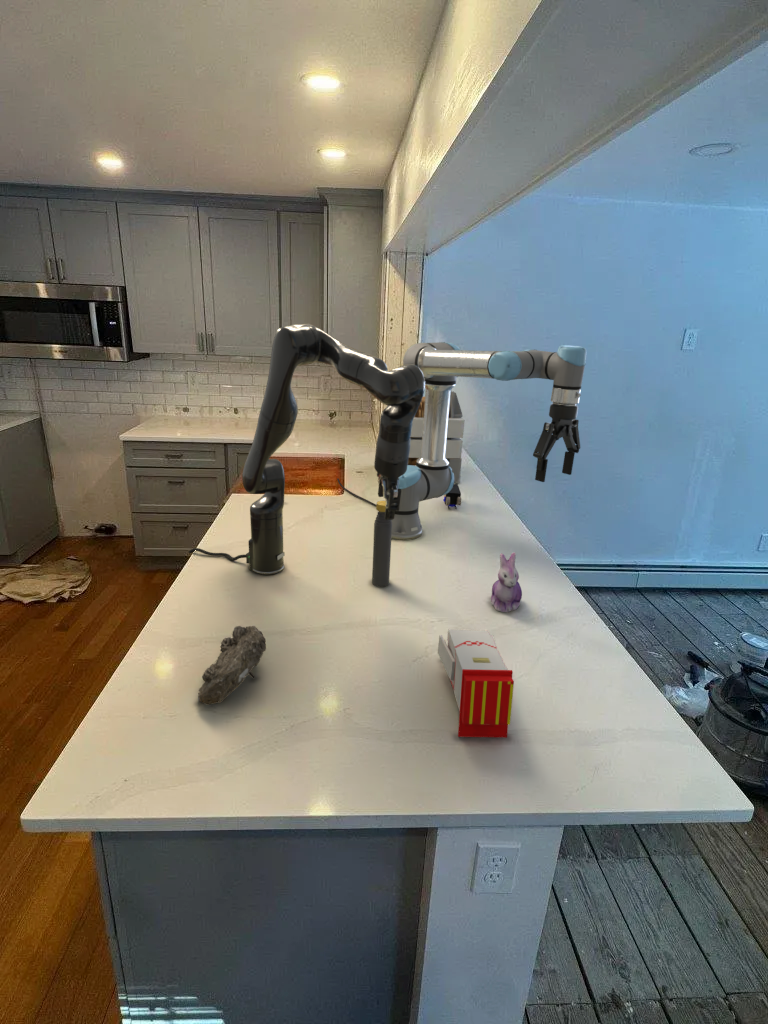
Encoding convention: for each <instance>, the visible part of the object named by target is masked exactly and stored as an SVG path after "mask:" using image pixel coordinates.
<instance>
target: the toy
mask: <svg viewBox="0 0 768 1024" xmlns="http://www.w3.org/2000/svg"><path fill="white" fill-rule="evenodd" d="M446 640H447V643H446V641H445V639H444V636H443V635H442V634H439V637H438V646H437V656H438V657H439V659H440V661H441V663H442V666H443V668H444V670H445V672H446V674H447V677H448V679H449V681H450V684H451V687H452V690H453V693H454V697H455V701H456V705H457V708H458V711H459V714H458V715H459V716H458V730H457V731H458V732H457V737H458V738H508V731H509V726H510V725H511V717H512V707H513V697H514V696H513V695H514V684H515V680H514V679H513V673H514V671H513V670H512V669H508V667H507V665H506V662H505V661H504V659H503V658H502V655H501V653H500V651H499V649H498V647H497V643H496V639H495V637H494V635H493V634H491V632H490V631H489V629H467V628H466V629H465V628H463V629H461V628H460V629H459V628H448V630H447V639H446Z"/></svg>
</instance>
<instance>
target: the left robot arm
mask: <svg viewBox="0 0 768 1024" xmlns="http://www.w3.org/2000/svg"><path fill="white" fill-rule="evenodd" d="M269 361H270V362H269V369H268V376H267V382H266V387H265V391H264V395H263V399H262V403H261V406H260V409H259V414H258V418H257V423H256V424H257V425H256V429H255V432H254V435H253V439H252V443H251V446H250V449H249V451H248V453H247V457H246V459H245V462H244V465H243V469H242V474H241V475H242V476H241V477H242V479H241V480H242V486H243V488H244V490H245V491H246V492H247V493H248V494H250V495H261V494H263V495H262V496H261V497H260V498H259V499H257V500H255V501H254V502H252V503H251V504H250V506H249V519H250V539H248V552H247V553H245V554H239V555H236V556H234V557H233V556H232V555H230V554H229V553H227V552H210V551H207V550H205V549H202V548H199V547H194V548H191V549H190V550H188V553H189V554H192V553H194V552H199V553H202V554H204V555H207V556H212V557H226V558H227V559H229V561H237V560H240V559H245V560H246V564H248V565H249V571H252V572H254V573H256V574H258V575H274V574H278V573H280V572H283V570H284V569H285V561H284V560H285V559H284V557H285V555H286V554H285V551H284V516H283V514H284V512H283V511H284V510H283V509H284V507H285V489H286V476H285V468H284V466H283V464H282V462H281V460H279V459H277V458H271V457H272V456H273V454H275V453H276V452H277V450H279V448H281V446H282V445H284V444H285V443H286V442H287V440H288V439H289V438H290V436H291V435H292V433H293V430H294V427H295V424H296V421H297V418H298V412H299V409H298V408H299V406H298V403H297V400H296V398H295V395H294V392H293V390H292V380H293V377H294V374H295V371H296V369H297V368H298V367H301V366H306V365H312V364H315V363H318V364H323V365H324V364H325V365H328V366H331V367H333V368H334V369H335V371H336V373H337V374H338V375H339V376H340V377H341V378H342V379H343V380H344V381H347V382H348V383H351V384H353V385H355V386H356V387H357V386H358V387H360V388H362V389H365V390H366V391H367V392H368V393H369V394H370V395H372V396H373V397H374V398H375V399H376V400H377V401H378V402H379V403H381V404H382V405H385V406H386V407H385V408H384V409H383V410H382V411H381V413H380V419H379V424H378V425H379V427H378V434H377V438H376V443H375V444H376V445H375V452H374V453H375V455H374V464H373V467H374V470H375V471H376V476H377V483H378V488H377V496H378V497H379V498H383V499H385V501H386V509H385V519H386V520H392V519H394V516H395V511H399V506H400V498H401V489H399V487H398V486H399V477H400V476H402V475H403V474H405V472H406V471H407V465H408V458H409V452H410V437H411V430H412V422H413V419H414V416H415V414H416V412H417V410H418V407H419V405H420V402H421V400H422V397H424V395H425V391H426V388H425V379H424V375H423V373H422V371H421V370H420V368H419V367H417V366H416V365H413V364H406V365H401V366H398V367H395V368H393V369H391V370H390V369H389V368H388V366H387V364H386V362H385V361H384V360H383V359H382V358H379V357H377V356H375V355H372V354H370V353H367V352H364V351H362V350H360V349H359V350H358V349H356V348H354V347H351V346H349V345H347V344H345V343H343V342H341V341H339V340H338V339H336V338H335V337H333V336H331V335H330V334H329V333H327V332H326V331H325V330H323V329H321V328H319V327H317V326H316V325H314V324H311V323H300V324H288V325H284V326H281V327H279V328H278V329H277V331H276V332H275V335H274V337H273V341H272V345H271V353H270V360H269ZM388 369H389V370H388ZM387 405H388V406H387ZM387 492H389V495H387ZM195 550H196V551H195Z"/></svg>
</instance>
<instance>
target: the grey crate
mask: <svg viewBox="0 0 768 1024" xmlns="http://www.w3.org/2000/svg"><path fill="white" fill-rule="evenodd" d="M387 406H388V405H386V407H387ZM424 406H425V396H423V397H422V400H421V402H420V405H419V407H418V410H417V412H416V414H415V416H414V419H413V422H412V430H411V437H410V452H409V458H408V465H413V466H416V461H417V459H418V458H420V457H421V450H422V435H423V421H424ZM464 429H465V419H464V418H463V411H462V408H461V405H460V402H459V398H458V395H457V392H455V391H453V390H451V394H450V406H449V418H448V430H447V442H446V454H445V458H446V459H447V461H448V462H449V466H450V467H451V469H452V473H454V484H459V483H461V472H462V461H463V460H462V453H463V442H464V441H463V440H462V439H463V438H464V431H465V430H464Z"/></svg>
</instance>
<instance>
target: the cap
mask: <svg viewBox="0 0 768 1024" xmlns="http://www.w3.org/2000/svg"><path fill="white" fill-rule="evenodd" d="M375 504H376V506H375V507H376V509H375V510H376V511H377V512H379V511H380V512H385V509H386V500H377V502H376V503H375Z"/></svg>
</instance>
